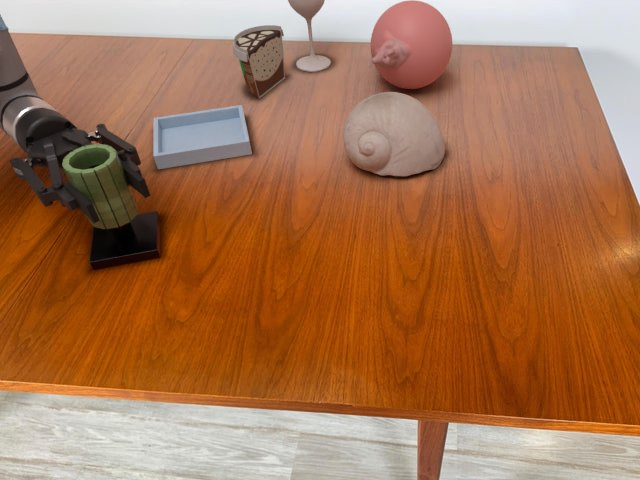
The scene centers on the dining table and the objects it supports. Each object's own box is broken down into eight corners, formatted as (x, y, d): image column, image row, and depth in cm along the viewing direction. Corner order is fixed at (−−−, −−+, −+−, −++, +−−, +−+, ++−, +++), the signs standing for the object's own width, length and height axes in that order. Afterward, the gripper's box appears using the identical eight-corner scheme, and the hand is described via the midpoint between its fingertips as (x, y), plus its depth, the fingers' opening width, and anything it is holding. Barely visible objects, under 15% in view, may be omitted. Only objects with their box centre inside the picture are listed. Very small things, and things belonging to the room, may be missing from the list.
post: (93, 270, 80) (54, 197, 71) (97, 229, 86) (62, 157, 77) (160, 257, 81) (130, 184, 72) (160, 218, 87) (132, 146, 78)
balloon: (340, 98, 112) (334, 15, 101) (402, 59, 122) (402, -19, 111) (405, 122, 105) (405, 37, 94) (464, 80, 116) (471, -1, 105)
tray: (157, 169, 96) (153, 156, 94) (157, 130, 105) (153, 117, 103) (252, 154, 99) (249, 141, 97) (244, 117, 107) (241, 104, 105)
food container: (264, 69, 121) (255, 19, 113) (289, 74, 119) (282, 25, 111) (228, 95, 113) (217, 44, 106) (254, 102, 111) (244, 51, 104)
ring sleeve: (87, 232, 77) (59, 176, 70) (91, 203, 81) (65, 148, 75) (137, 224, 78) (114, 168, 72) (138, 196, 82) (117, 140, 76)
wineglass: (304, 53, 125) (291, -55, 110) (337, 58, 123) (328, -52, 108) (289, 69, 120) (273, -43, 105) (322, 74, 118) (312, -39, 103)
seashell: (356, 182, 104) (322, 150, 90) (383, 111, 105) (353, 67, 91) (434, 204, 99) (410, 172, 85) (461, 128, 100) (442, 85, 86)
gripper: (113, 129, 92) (192, 191, 81) (-14, 181, 83) (57, 259, 72) (95, 85, 87) (178, 144, 76) (-42, 135, 77) (30, 212, 66)
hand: (119, 200), depth 74 cm, fingers closed on ring sleeve, 6 cm apart
